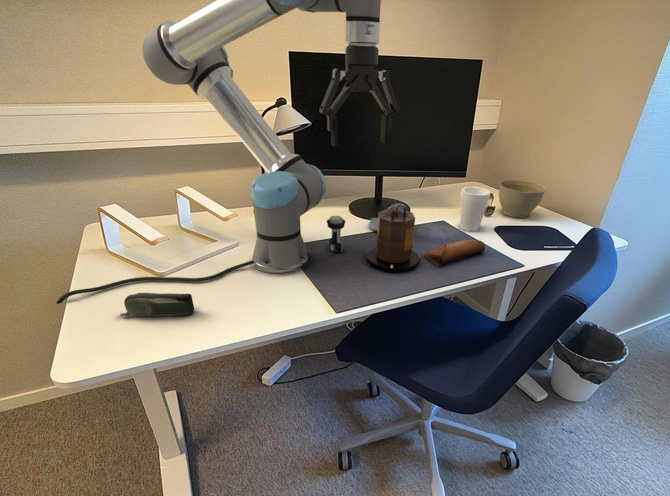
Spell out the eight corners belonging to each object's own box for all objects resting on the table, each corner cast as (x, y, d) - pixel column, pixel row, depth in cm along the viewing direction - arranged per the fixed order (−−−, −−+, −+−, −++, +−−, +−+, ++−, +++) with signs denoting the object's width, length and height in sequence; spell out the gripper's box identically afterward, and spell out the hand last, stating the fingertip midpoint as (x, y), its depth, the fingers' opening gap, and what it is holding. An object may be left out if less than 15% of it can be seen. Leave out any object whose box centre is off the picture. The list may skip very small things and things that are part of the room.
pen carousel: (369, 255, 112) (372, 205, 105) (390, 245, 118) (394, 198, 111) (396, 266, 107) (401, 215, 99) (417, 255, 113) (422, 206, 106)
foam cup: (488, 231, 136) (496, 194, 129) (465, 234, 133) (472, 196, 126) (472, 221, 143) (479, 185, 136) (450, 224, 140) (456, 187, 133)
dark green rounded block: (192, 290, 87) (118, 292, 85) (188, 298, 84) (112, 299, 82) (195, 309, 90) (124, 311, 87) (192, 317, 87) (119, 319, 85)
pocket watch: (384, 206, 121) (360, 192, 132) (382, 239, 127) (359, 222, 138) (411, 201, 125) (386, 188, 136) (407, 233, 131) (384, 218, 142)
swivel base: (380, 277, 105) (380, 271, 105) (358, 253, 117) (359, 248, 116) (428, 268, 111) (429, 263, 110) (403, 246, 122) (403, 242, 121)
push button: (321, 246, 120) (321, 215, 115) (336, 243, 123) (336, 212, 117) (333, 255, 115) (332, 222, 110) (348, 251, 118) (348, 219, 113)
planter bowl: (538, 224, 143) (546, 194, 137) (492, 217, 147) (499, 188, 141) (536, 210, 156) (544, 182, 150) (494, 204, 160) (500, 177, 154)
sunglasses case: (464, 242, 126) (475, 228, 120) (476, 259, 123) (488, 247, 118) (421, 254, 117) (431, 241, 111) (433, 273, 115) (444, 260, 109)
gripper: (314, 42, 82) (317, 149, 93) (418, 47, 91) (409, 144, 102) (303, 42, 88) (308, 143, 99) (403, 47, 97) (396, 139, 108)
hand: (359, 144), depth 101 cm, fingers open, 13 cm apart
